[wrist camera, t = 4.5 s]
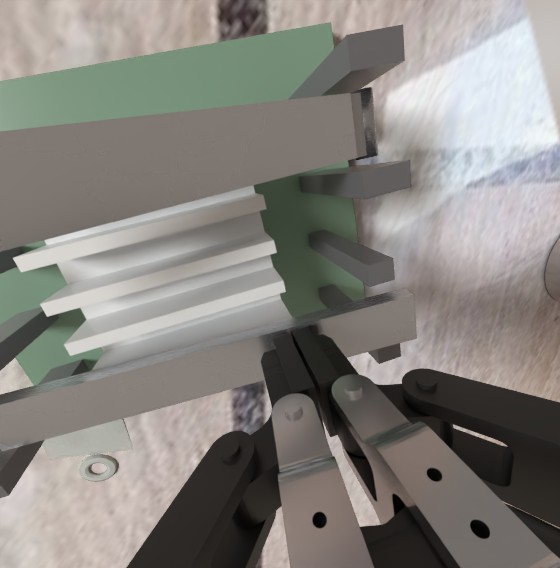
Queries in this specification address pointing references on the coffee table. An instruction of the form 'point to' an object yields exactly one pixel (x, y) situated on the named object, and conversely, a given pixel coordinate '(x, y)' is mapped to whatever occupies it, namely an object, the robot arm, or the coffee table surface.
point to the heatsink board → (193, 216)
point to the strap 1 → (168, 160)
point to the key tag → (91, 447)
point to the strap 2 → (193, 370)
